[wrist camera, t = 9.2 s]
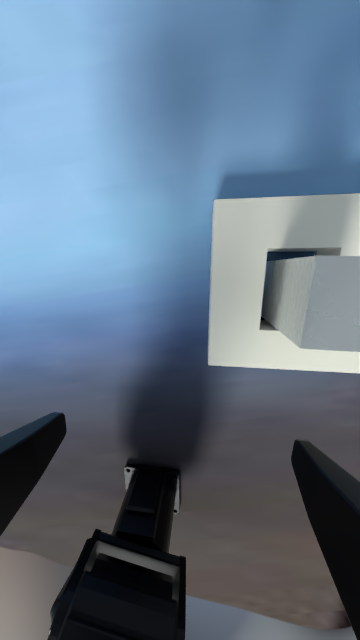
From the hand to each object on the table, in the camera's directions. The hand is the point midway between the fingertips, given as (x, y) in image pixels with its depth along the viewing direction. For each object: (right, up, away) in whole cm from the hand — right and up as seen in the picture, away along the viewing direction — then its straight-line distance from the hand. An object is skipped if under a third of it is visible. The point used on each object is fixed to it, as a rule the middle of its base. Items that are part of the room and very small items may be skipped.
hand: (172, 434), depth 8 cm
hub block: (+9, +7, +9) cm, 15 cm away
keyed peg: (+9, +7, +9) cm, 15 cm away
